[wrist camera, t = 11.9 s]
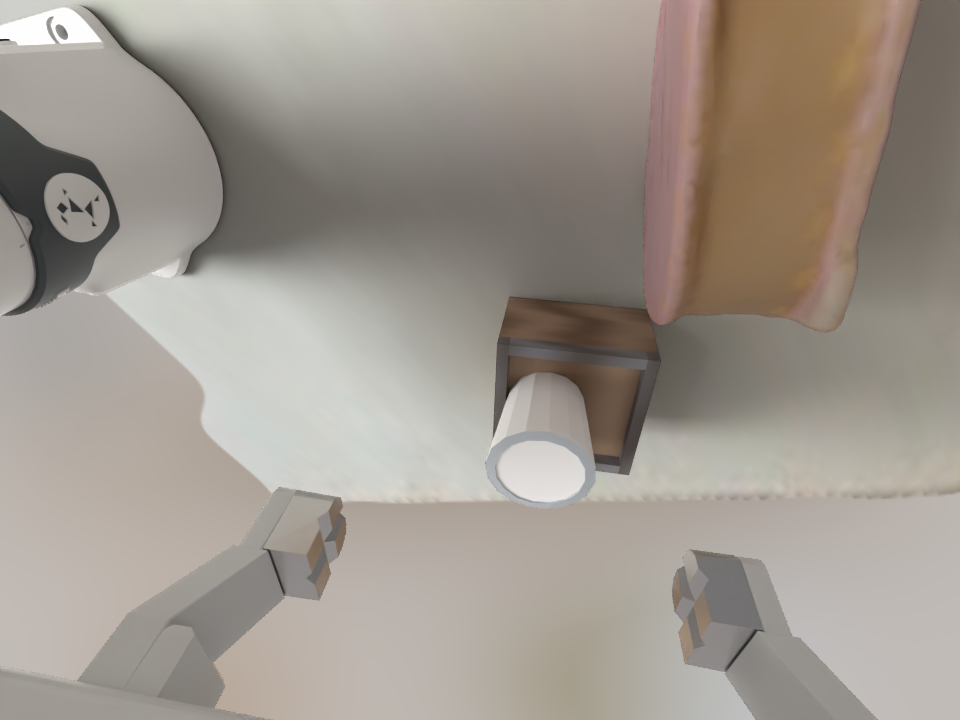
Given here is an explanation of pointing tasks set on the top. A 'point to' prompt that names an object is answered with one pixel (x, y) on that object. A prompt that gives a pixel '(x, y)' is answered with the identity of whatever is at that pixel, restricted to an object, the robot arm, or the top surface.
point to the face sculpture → (766, 152)
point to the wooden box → (585, 366)
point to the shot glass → (542, 444)
